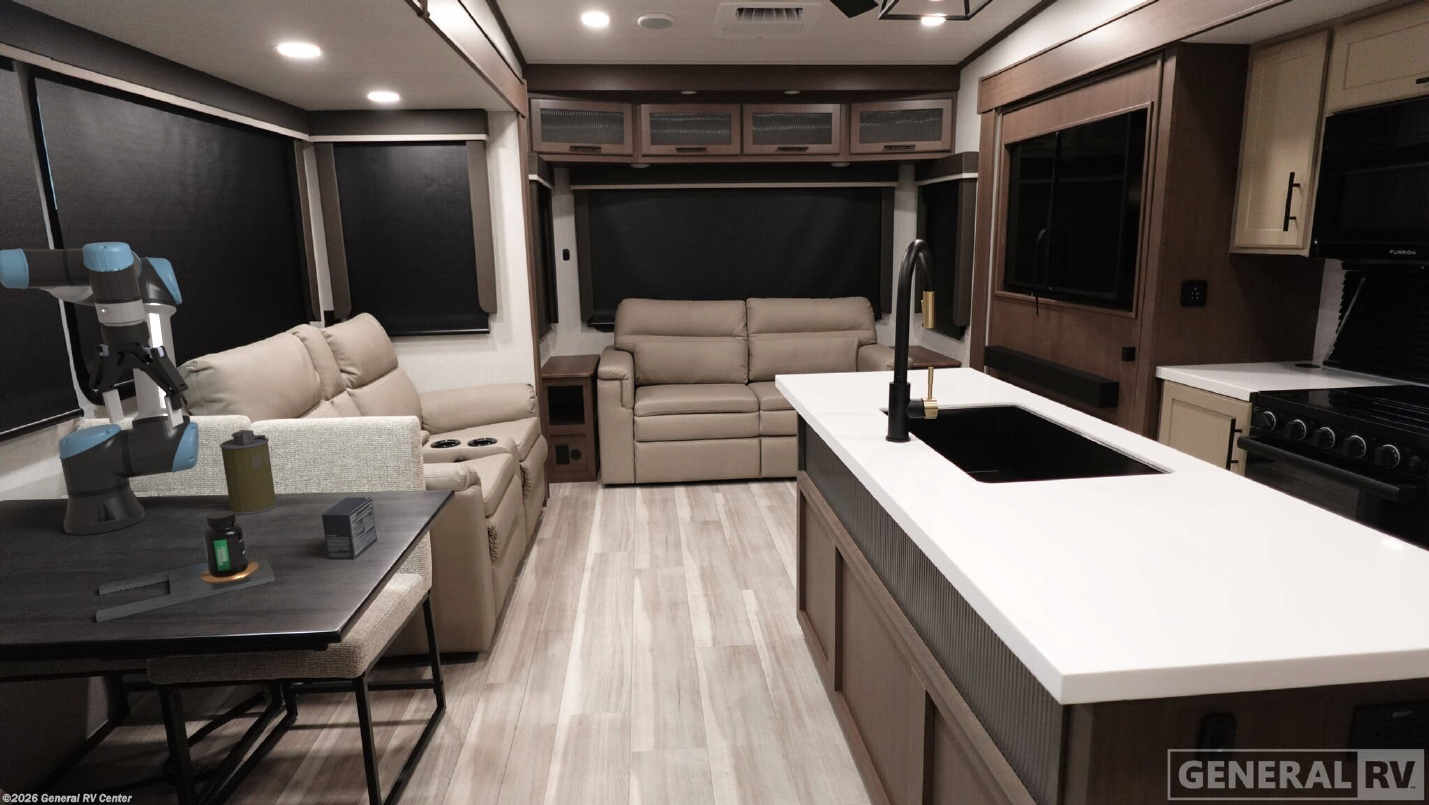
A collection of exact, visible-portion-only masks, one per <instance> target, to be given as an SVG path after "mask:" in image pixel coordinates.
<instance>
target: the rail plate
mask: <svg viewBox="0 0 1429 805" xmlns="http://www.w3.org/2000/svg"><path fill="white" fill-rule="evenodd" d="M247 556H248V563H249V565H248V568H247V569H246V570H245V571H243V572H241V573H239V574H236V575H233V576H228V577H214V576H212V575H210V573H209V569H208V563H207V561H206V562H203V563H202V562H201V563H198V564H193V565H188V566H183V567H178V568H173V569H170V570H165V571H159V572H156V573H150V574H146V575H141V576H137V577H135V576H134V577H131V578H126V579H123V580H118V581H112V582H108V583H103V584H99V590H98V592H99V596H103V595H102V594H105V595H109V594H111V593H110V592H114V593H116V592H115V591H119V592H121V591H120V590H123V591H126V590H125V589H128V590H131V588H132V589H136V588H135V587H137V588H141V587H145V585H146V586H150V585H153V584H154V585H155V584H160V583H163V582H169V592H170V594H166V595H161V596H158V597H157V596H156V597H153V598H147V599H144V600H139V601H135V602H131V603H127V604H122V605H117V606H113V607H108V608H104V609H99V610H96V614H95V615H96V616H95V618H96V623H101V622H105V621H111V620H115V619H119V618H123V617H127V616H131V615H134V614H135V615H137V614H140V613H143V612H144V613H145V612H149V611H152V610H153V611H154V610H157V609H162V608H165V607H170V606H174V605H178V604H183V603H186V602H190V601H195V600H196V601H197V600H200V599H204V598H208V597H212V596H216V595H217V596H218V595H221V594H225V593H229V592H234V591H238V590H241V589H246V588H250V587H255V586H259V585H263V584H268V582H269V583H273V582H275V581H276V578H275V574H274V572H273V569H272V566H271V564H270V562H269V558H268V556H267V554H266V550H259V551H255V552H249V553H247ZM159 582H160V583H159ZM108 593H109V594H108Z"/></svg>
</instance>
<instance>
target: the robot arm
mask: <svg viewBox="0 0 1429 805" xmlns="http://www.w3.org/2000/svg"><path fill="white" fill-rule="evenodd" d="M0 283H1V285H2V286H3V287H4V288H7V289H22V290H24V289H25V290H26V289H40V290H42V291H46V292H49V294H50V295H52V296H53V297H55V298H56V299H59V300H61V301H64V302H68V303H73V304H76V305H84V306H90V307H95V310H96V315H97V319H98V322H99V323H101V325H100V331H101V336H102V339H103V340H102V341H103V342H104V343H101V344H97V345H94V346H93V352H94V359H93V364H92V366H91V367H92V368H91V372H90V376H89V382H88V388H89V389H90V390H97V392H98V393H100V396H101V401H102V405H103V407H104V408H105V409H106V412H107V417H108V421H109V423H106V424H100V425H95V426H89V427H86V428H82V429H78V430H76V431H75V430H74V431H72V432H70V433H67V434H66V435H64V436H62V437H61V438H60V440H59V442H58V448H59V450H58V451H59V456H58V457H59V460H60V461H61V462H60V463H61V467H62V472H63V477H64V481H65V486H66V490H67V491H66V492H67V498H68V500H67V506H66V512H65V517H64V519H63V527H64V532H65V533H67V534H69V535H75V536H76V535H77V536H79V535H80V536H81V535H84V536H85V535H86V536H87V535H95V534H103V533H107V532H112V531H116V530H120V529H124V528H126V527H127V528H128V527H130V526H133V525H134V524H137V523H139V522H141V521H142V520H143V519H144V518H145V510H144V507H143V505H142V504H141V503H140V501H139V499H138V497H137V495H136V494H135V493H134V490H133V489H132V486H131V483H130V482H131V481H130V478H132V479H133V478H138V477H139V478H140V477H145V476H155V475H161V474H169V473H174V474H175V473H177V472H182V471H187V470H191V469H193V468H194V467H196V465H197V462H198V458H199V449H200V448H199V445H200V444H199V443H200V442H199V438H200V437H199V436H200V435H199V425H198V423H197V422H196V421H195V422H194V421H191V416H190V415H189V414H188V413H186V412H185V411H183V409H182V408H183V403H182V398H181V393H182V392H185V391H188V390H189V386H188V384H187V382H186V381H185V380H184V378H183V377H182V375H181V374H180V372H179V371H178V369H177V364H176V357H175V350H174V342H173V333H172V325H171V317H172V316H173V315H174V314H175V313H176V312H177V307H176V305H180V304H182V303H183V299H182V295H181V291H180V289H179V285H178V282H177V278H176V275H175V271H174V269H173V267H172V264H171V262H170V261H169V260H168V259H167V258H164V257H163V258H162V257H148V256H145V257H139V256H138V255H137V253H135V252H134V251H133V250H131V246H130V245H129V244H128V243H127V242H121V241H106V242H105V241H104V242H92V243H86V244H84V245H83V247H82V248H63V249H61V248H58V249H57V248H43V249H41V248H39V249H37V248H34V249H33V248H30V249H29V248H15V249H1V250H0ZM128 368H130V369H133V370H132V371H133V377H134V387H135V396H136V401H137V410H138V414H137V415H136V416H135V417H134V418H133V419H132V420H131V427H132V428H129V429H127V428H126V429H122V428H121V426H120V425H119V424H117V423H118V422H121V421H123V420H125V416H124V412H123V408H122V404H121V400H120V399H121V398H120V395H119V391H118V389H117V387H116V386H115V385H116V383H117V382H118V380H119V378H120V377H121V375H122V373H123V371H124V369H128Z"/></svg>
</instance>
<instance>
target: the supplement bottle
mask: <svg viewBox="0 0 1429 805" xmlns="http://www.w3.org/2000/svg"><path fill="white" fill-rule="evenodd" d="M206 526H207V527H208V528H207V529H206V530H205V531H204V532H203V535H202V536H203V543H204V549H205V556H206V562H207V563H208V569H209V573H210V575H212V576H214V577H228V576H233V575H236V574H239V573H241V572H243V571H245V570H246V569H247V568H248V565H249V563H248V556H247V554H248V550H247V544H246V542H247V541H246V536H245V530H244V527H243V525H241V524H240V523H238V521H237V517H236V514H235V512H233V511H229V510H221V511H216V512H212V513H211V514H209V515H208V516H206Z"/></svg>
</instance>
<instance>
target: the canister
mask: <svg viewBox="0 0 1429 805" xmlns="http://www.w3.org/2000/svg"><path fill="white" fill-rule="evenodd" d="M230 436H231V437H232V438H231V439H227V440H226V441H223V442H221V443H220V444H219V448H220V449H221V454H222V455H221V456H222V460H223V461H222V462H223V468H224V475H225V482H226V487H227V488H226V489H227V495H228V502H229V510H228V511H233V512H235V516H236V515H237V516H243V515H244V516H247V515H248V516H249V515H254V514H260V513H264V512H267V511H270V510H272V509H274V508H276V506H278V501H277V500H276V492H275V486H274V485H275V484H274V478H273V469H272V463H271V455H270V449H269V448H270V447H269V441H270V439H269V438H268V437H266V435H265V434H257V435H256V434H255V432H254V430H249V429H241V430H238V431H236V432H233V433H231V435H230Z"/></svg>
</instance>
